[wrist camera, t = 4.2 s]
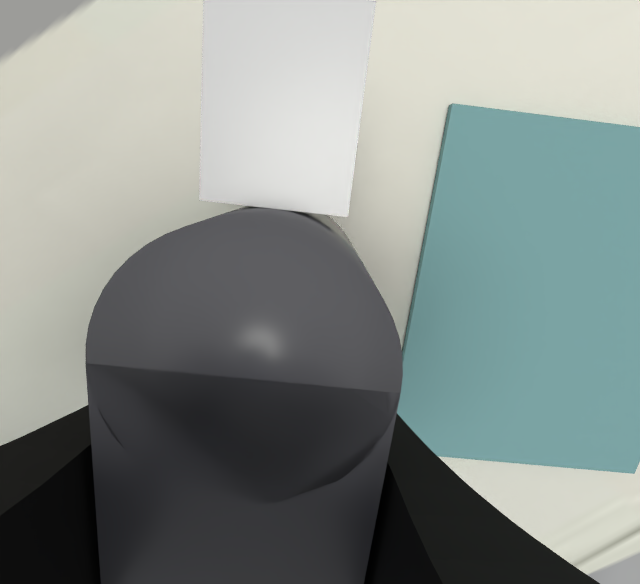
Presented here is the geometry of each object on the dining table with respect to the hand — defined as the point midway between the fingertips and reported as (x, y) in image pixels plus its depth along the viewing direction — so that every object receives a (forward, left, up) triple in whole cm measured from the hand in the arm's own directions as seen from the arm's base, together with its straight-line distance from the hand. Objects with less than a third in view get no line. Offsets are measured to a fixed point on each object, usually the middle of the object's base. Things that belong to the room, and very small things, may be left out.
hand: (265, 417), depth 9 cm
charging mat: (+1, -12, -8) cm, 15 cm away
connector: (+2, 0, -2) cm, 2 cm away
